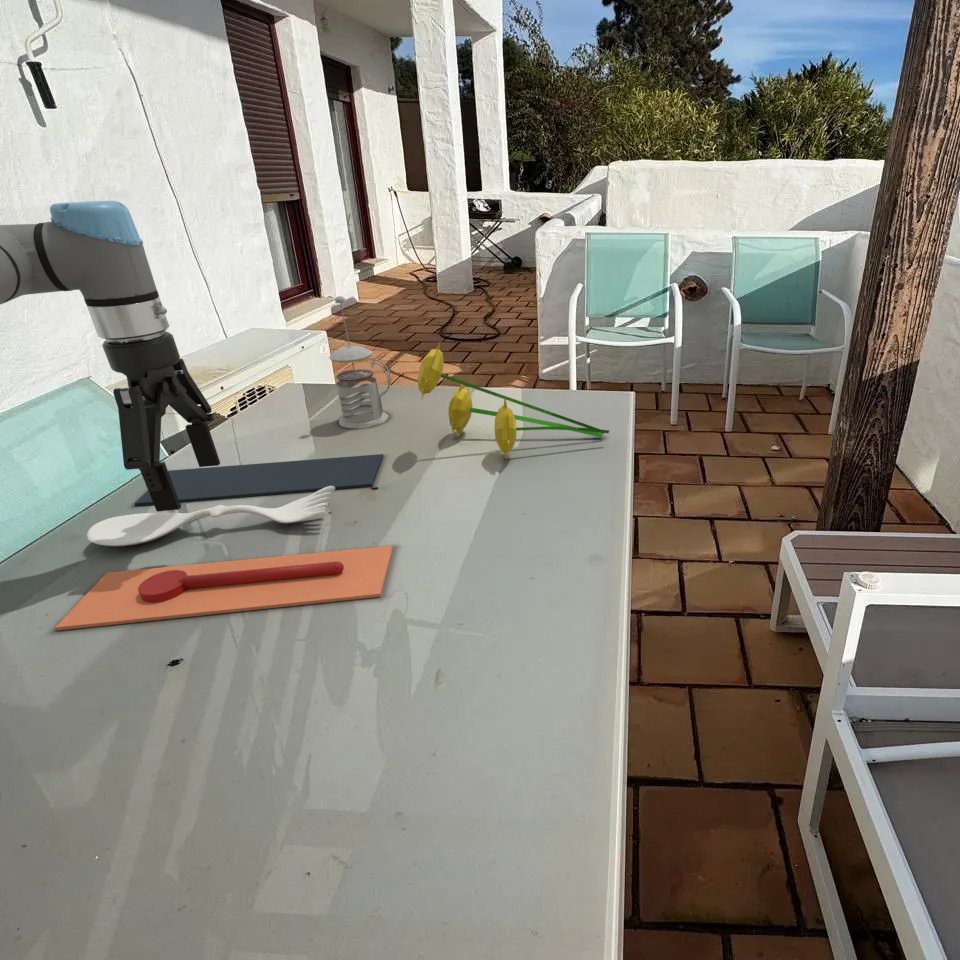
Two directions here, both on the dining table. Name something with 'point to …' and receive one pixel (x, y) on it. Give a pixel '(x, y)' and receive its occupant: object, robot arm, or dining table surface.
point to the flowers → (504, 417)
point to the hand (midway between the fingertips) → (191, 486)
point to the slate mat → (271, 478)
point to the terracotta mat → (232, 589)
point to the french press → (368, 410)
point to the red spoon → (226, 579)
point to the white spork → (160, 524)
